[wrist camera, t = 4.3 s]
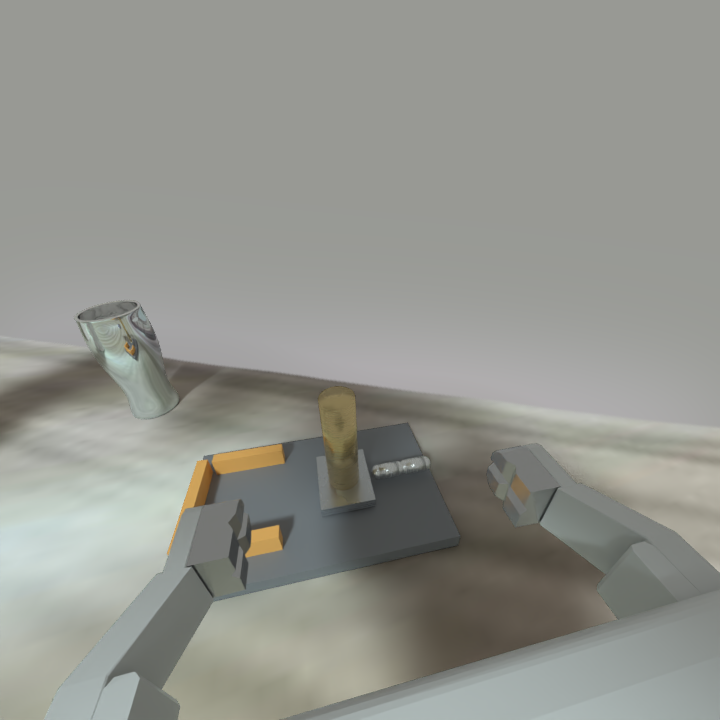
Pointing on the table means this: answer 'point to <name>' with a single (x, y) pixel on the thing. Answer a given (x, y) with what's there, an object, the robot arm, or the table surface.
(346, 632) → the table surface
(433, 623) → the table surface
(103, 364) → the beer glass
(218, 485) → the rail board
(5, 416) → the table surface
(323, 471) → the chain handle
